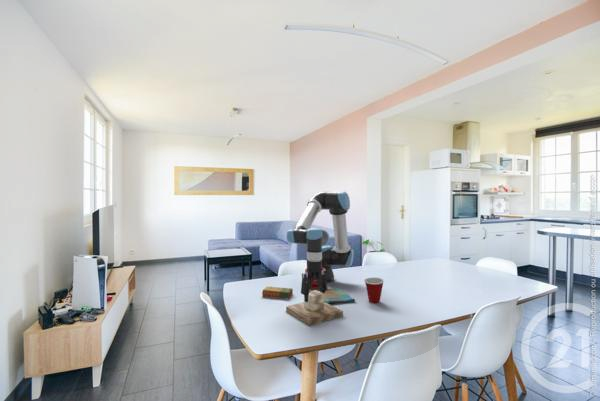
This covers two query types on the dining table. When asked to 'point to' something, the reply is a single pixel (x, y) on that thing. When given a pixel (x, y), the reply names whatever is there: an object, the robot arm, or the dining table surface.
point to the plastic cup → (374, 289)
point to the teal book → (336, 296)
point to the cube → (316, 300)
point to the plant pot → (314, 281)
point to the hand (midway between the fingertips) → (314, 306)
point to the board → (314, 313)
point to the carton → (277, 292)
